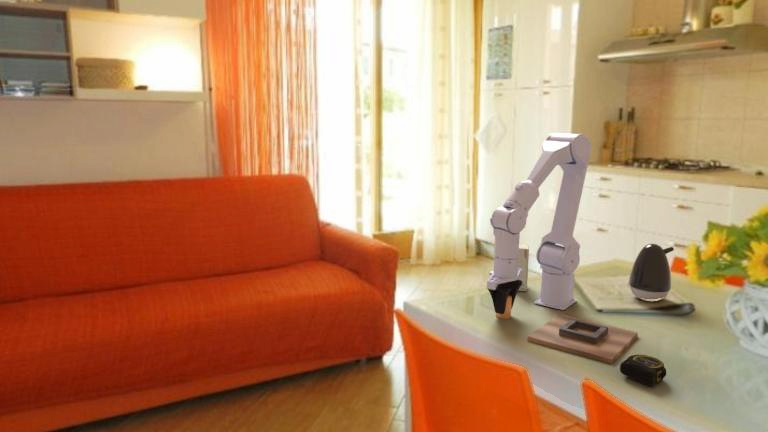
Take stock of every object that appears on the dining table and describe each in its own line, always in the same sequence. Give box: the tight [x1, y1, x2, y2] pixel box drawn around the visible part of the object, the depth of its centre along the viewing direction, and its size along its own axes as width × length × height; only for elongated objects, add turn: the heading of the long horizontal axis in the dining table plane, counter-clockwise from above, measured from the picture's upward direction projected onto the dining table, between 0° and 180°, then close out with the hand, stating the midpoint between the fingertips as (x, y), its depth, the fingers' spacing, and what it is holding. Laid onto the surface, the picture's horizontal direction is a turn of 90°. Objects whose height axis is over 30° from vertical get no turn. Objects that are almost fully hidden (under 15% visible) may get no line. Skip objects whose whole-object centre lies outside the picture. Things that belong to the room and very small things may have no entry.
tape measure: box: [619, 354, 667, 387], centre depth 106 cm, size 7×7×4 cm
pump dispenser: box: [628, 243, 675, 299], centre depth 150 cm, size 10×10×15 cm
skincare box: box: [517, 243, 530, 292], centre depth 159 cm, size 6×4×12 cm
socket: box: [526, 313, 639, 365], centre depth 125 cm, size 18×18×2 cm
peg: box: [495, 295, 512, 320], centre depth 138 cm, size 4×4×5 cm
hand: (503, 310), depth 138 cm, fingers closed on peg, 4 cm apart
